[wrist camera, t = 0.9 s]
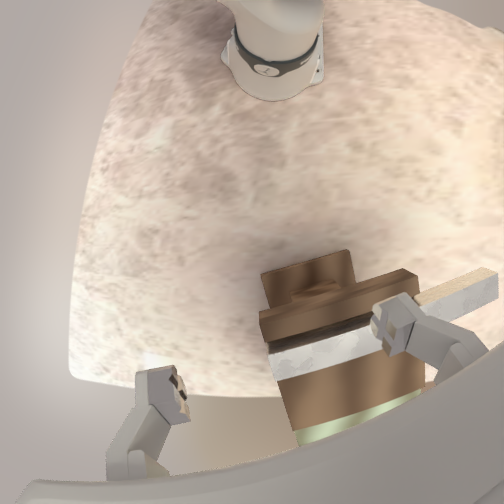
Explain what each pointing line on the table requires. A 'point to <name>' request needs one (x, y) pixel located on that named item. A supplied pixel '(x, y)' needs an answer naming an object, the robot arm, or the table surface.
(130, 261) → the table surface
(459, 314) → the aluminium bar
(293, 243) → the table surface
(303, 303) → the walnut pedestal
